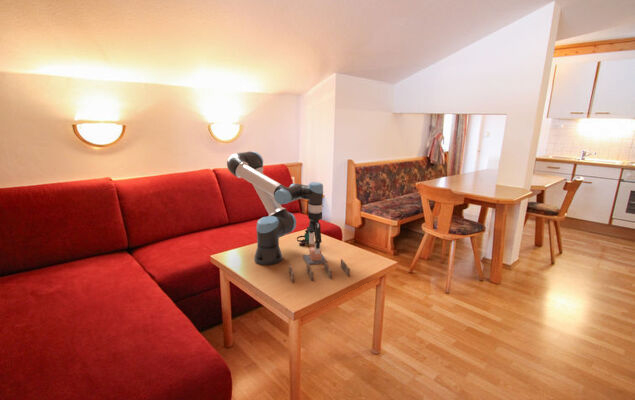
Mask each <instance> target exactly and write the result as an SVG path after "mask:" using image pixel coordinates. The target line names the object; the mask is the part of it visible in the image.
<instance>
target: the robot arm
mask: <svg viewBox="0 0 635 400" xmlns="http://www.w3.org/2000/svg"><path fill="white" fill-rule="evenodd" d="M226 167H227V169H228V171H229V172H230V173H231V174H232V175H233V176H235V177H236V178H238V179H244V180H245V181H247V182H248V183H250V184H252V186H253V188H254V190H255V191H256V194H257V195H258V197H259V199H260V200H261V202H262V204H263V206H264V208H265V211H266V212H267V213H268V216H263V217H261V218H260V219H258V220H257V222H256V228H255V229H256V243H257V246H256V249H255V254H254V262H255V263H256V264H259V265H263V266H271V265H277V264H279V263H280V262H282V261H283V254H282V251H281V247H280V243H279V241H280V238H281V237H284V236H285V235H288V234H291V233H292V232H293V231H294V230H295V229H296V227H297V218H296V217H295V215H294V214H293V213H291V212H289V211H288V210H287V208H286V207H282V205H287V204H289V203H292V202H294V201H298V200H301V199H302V200H308V206H307V207H308V209H307V210H308V213H307V215H308V216H307V218H308V220H309V224H308V227H309V229H308V230H309V244H310V245H314V247H315V254H320V249H321V243H322V242H323V241H322V231H321V230H322V229H321V223H320V222H319V221H321V220H322V219H323V208H324V205H323V201H324V198H323V197H324V185H323V183H321V182H310V183H309V184H308V185H305V184H300V183H291V184H290V185H289V187H286V186H285V185H283V184H281V183H280V182H278V181H276V180H274V179H273V178H271V177H269V176H267V175H265V173H264V159H263V156H262V155H260V153H258V152H256V151H243V152H234V153H233V154H231V155H230V156H229V157H228V158H227V162H226Z"/></svg>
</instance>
